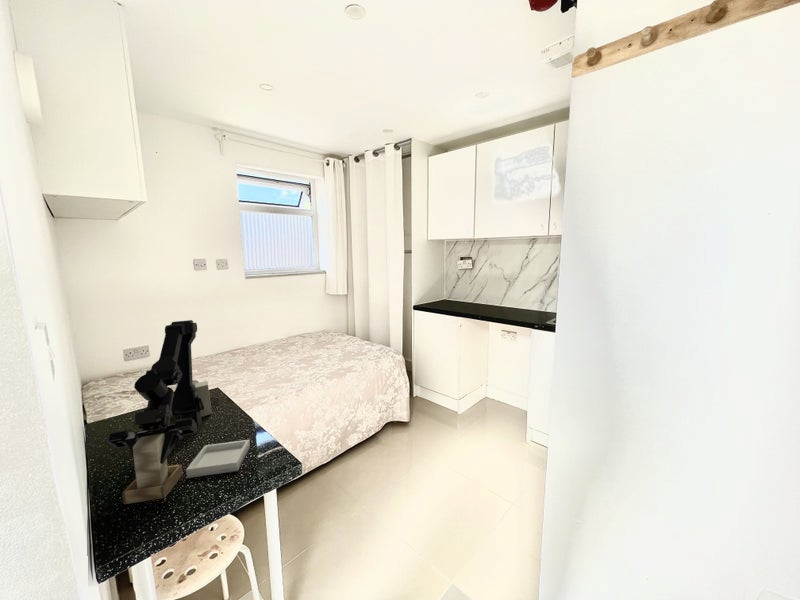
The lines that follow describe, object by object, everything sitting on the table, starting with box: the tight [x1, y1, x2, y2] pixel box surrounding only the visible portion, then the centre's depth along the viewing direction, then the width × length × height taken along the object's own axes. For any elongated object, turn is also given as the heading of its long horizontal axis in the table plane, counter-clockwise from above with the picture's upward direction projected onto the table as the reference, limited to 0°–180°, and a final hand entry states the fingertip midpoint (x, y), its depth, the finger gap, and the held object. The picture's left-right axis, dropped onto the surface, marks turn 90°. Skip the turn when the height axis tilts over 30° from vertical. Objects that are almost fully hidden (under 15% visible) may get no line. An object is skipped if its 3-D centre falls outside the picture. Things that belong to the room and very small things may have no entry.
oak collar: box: [121, 464, 184, 505], centre depth 83 cm, size 9×9×3 cm
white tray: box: [185, 439, 251, 479], centre depth 93 cm, size 13×12×2 cm
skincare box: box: [195, 380, 213, 418], centre depth 126 cm, size 6×4×12 cm
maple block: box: [133, 434, 169, 489], centre depth 82 cm, size 5×5×13 cm
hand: (149, 466), depth 81 cm, fingers closed on maple block, 5 cm apart
